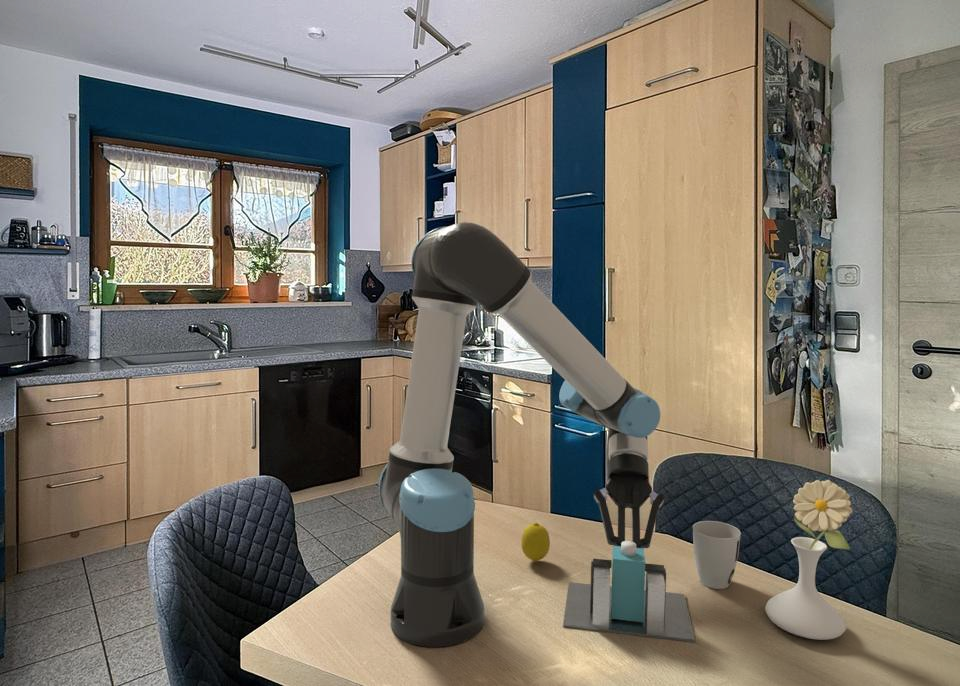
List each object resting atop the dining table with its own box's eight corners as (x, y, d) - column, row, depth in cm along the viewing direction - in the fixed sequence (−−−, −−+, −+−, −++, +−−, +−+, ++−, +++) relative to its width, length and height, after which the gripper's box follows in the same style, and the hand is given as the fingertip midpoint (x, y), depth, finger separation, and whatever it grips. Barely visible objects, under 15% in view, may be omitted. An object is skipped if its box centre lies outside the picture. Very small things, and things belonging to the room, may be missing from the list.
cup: (742, 595, 107) (745, 540, 106) (694, 590, 108) (696, 536, 107) (733, 573, 115) (735, 522, 114) (687, 569, 116) (690, 519, 115)
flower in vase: (749, 612, 101) (756, 466, 99) (806, 603, 104) (815, 461, 101) (809, 659, 89) (819, 493, 86) (872, 648, 91) (884, 486, 89)
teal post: (611, 618, 98) (613, 549, 97) (611, 602, 103) (612, 536, 101) (643, 622, 97) (645, 552, 96) (641, 606, 102) (643, 539, 100)
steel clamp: (563, 626, 97) (564, 573, 96) (568, 584, 110) (569, 536, 110) (695, 642, 93) (697, 586, 92) (684, 596, 106) (686, 547, 105)
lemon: (541, 571, 115) (542, 530, 115) (516, 564, 118) (516, 524, 118) (554, 559, 120) (554, 520, 119) (529, 553, 123) (529, 515, 122)
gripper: (661, 472, 119) (667, 596, 104) (593, 468, 122) (590, 589, 107) (665, 453, 113) (671, 582, 99) (594, 449, 116) (590, 574, 101)
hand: (629, 585), depth 103 cm, fingers closed
